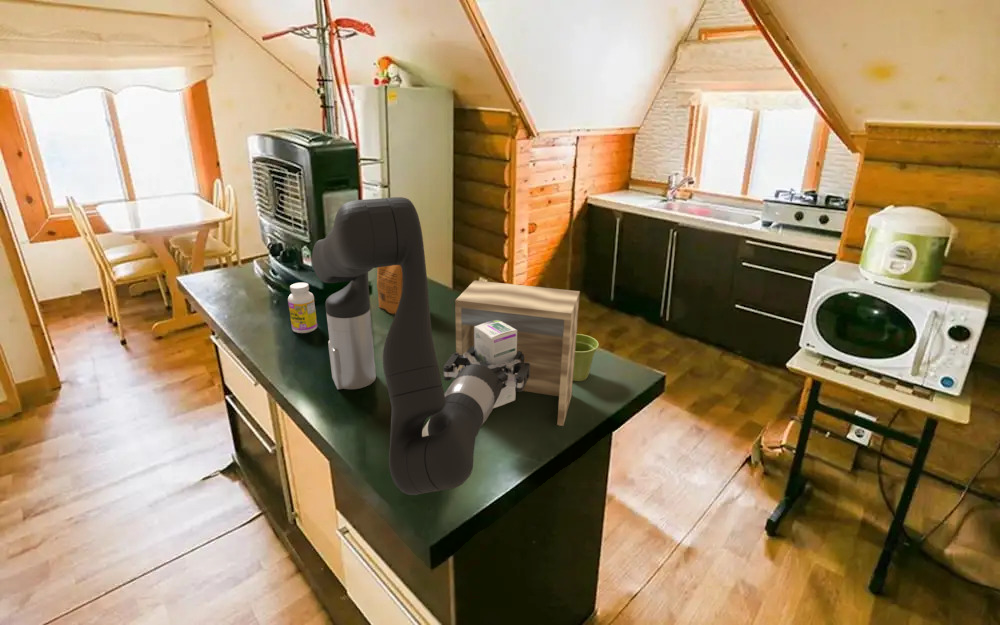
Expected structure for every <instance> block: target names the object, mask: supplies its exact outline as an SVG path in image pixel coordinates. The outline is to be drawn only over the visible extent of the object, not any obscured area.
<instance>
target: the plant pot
mask: <svg viewBox="0 0 1000 625" xmlns="http://www.w3.org/2000/svg"><path fill="white" fill-rule="evenodd" d="M599 345H600V343H599V341H598V340H597V339H596V338H594V337H592V336H590V335H586V334H582V333H577V334H576V347H575V360H574V373H573V382H583V381H586V380H587V379H588V377H589V376H590V375H589V374H590V371H591V367H592V363H593V360H594V356H595V353H596V351H597V349H598V348H599Z"/></svg>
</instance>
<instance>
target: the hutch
mask: <svg viewBox="0 0 1000 625" xmlns="http://www.w3.org/2000/svg"><path fill="white" fill-rule="evenodd" d="M580 294H581V291H580V290H569V289H559V288H551V287H543V286H542V287H541V286H531V285H523V284H514V283H513V284H512V283H503V282H502V283H501V282H495V281H492V282H491V281H484V280H483V281H482V280H473V281H472V282H471V283H470V284H469V285H468V287H466V289H464V291H462V293H461V294H459V296H458V297H457V298H456V299H454V301H455V302H454V303H455V304H454V306H455V310H454V311H455V351H456V352H455V353H459V355H463V353H465V352H467V351H468V349H469V348H470V347H473V346H474V328H475V327H474V326H477V325H480V324H483V323H486V322H490V321H494V320H500V321H502V322H503V323H505V324H507V325H509V326H511V327H512V328H514V329H516V330H517V352H518V351H521V352H522V354H524V363H529V364H530V372H529V378H528V380H527V382H526V384H525V386H524V388H523V390H522V391H521V392H529V393H535V394H541V395H547V396H554V397H558V409H557V411H558V412H557V421H556V422H557V424H556V425H557V426H561V427H564V425H565V421H566V418H567V414H568V411H569V410H568V409H569V407H570V403H571V399H572V396H573V386H574V385H573V384H574V381H573V373H574V360H575V347H576V334H578V333H577V332H578V321H579V320H578V319H579V308H580V306H579V305H580V296H581V295H580ZM461 368H463V365H459V368H458V369H457V370H458V371H459V370H460V369H461Z"/></svg>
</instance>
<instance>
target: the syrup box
mask: <svg viewBox="0 0 1000 625" xmlns="http://www.w3.org/2000/svg"><path fill="white" fill-rule="evenodd" d="M474 327H475V328H474V351H475V352H474V354H475V359H476V360H477V362H479V363H480V362H484V363H488V364H498V363H501V362H503V361H507V362H510V361H513V360H514V357H515V356H516V354H517V330H516V329H514V328H512V327H511V326H509V325H507V324H505V323H503V322H502V321H500V320H494V321H490V322H486V323H483V324H480V325H477V326H474ZM502 370H504V368H503V369H502ZM512 370H513V367H512V369H511V371H512ZM514 401H516V391H515V387H513V386H506V387H505V388H503V389H502V390H501V392H500V395H499V397H498V399H497V401H496V403H495V404H494V406H493V409H495V408H498V407H501V406H504V405H506V404H509V403H511V402H514Z"/></svg>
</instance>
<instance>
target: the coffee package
mask: <svg viewBox="0 0 1000 625" xmlns="http://www.w3.org/2000/svg"><path fill="white" fill-rule="evenodd" d="M376 271H377V272H376V273H377V274H376V275H377V276H376V288H377V296H378V297H377V298H378V308H379V309H382V310H385V311H386V312H387V313H389V314H392V315H395V314H396V311H397V308H398V305H399V301H400V298H401V293H402V286H403V276H402V268H401V266H400V265H393V266H385V267H377V270H376Z"/></svg>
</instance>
